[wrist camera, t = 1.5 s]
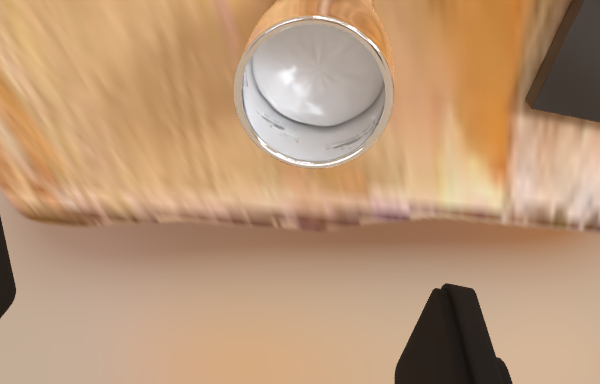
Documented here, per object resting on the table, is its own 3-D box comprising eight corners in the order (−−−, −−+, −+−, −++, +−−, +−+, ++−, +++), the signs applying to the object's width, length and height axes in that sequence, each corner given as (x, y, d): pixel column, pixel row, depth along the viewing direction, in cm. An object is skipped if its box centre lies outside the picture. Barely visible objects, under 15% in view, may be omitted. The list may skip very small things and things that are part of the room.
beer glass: (358, 79, 34) (362, 192, 21) (265, 48, 33) (213, 146, 20) (397, -21, 30) (429, 44, 17) (293, -58, 29) (249, -17, 17)
